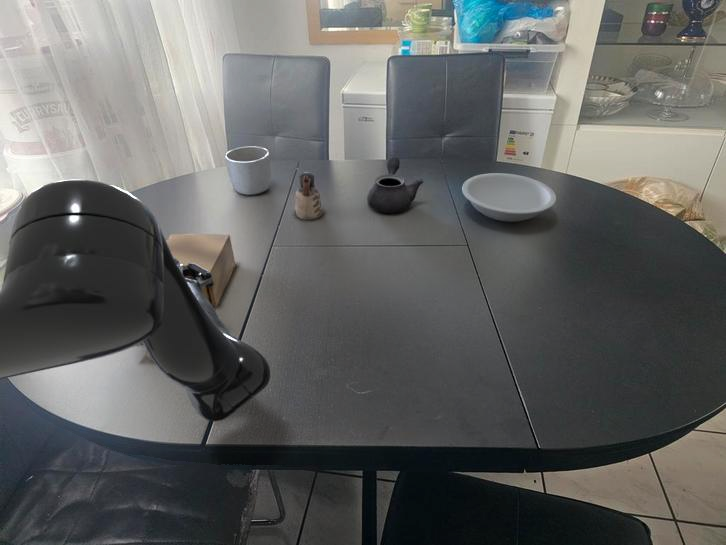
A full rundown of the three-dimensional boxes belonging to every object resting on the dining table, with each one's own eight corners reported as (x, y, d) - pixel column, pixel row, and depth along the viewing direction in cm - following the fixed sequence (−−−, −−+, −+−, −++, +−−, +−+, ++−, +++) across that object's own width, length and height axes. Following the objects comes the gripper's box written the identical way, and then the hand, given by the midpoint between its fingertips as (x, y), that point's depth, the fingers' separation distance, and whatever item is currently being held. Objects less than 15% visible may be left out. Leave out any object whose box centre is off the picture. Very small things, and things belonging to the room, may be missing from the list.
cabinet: (216, 306, 90) (208, 274, 85) (155, 305, 90) (143, 273, 85) (235, 265, 101) (229, 234, 97) (181, 264, 102) (172, 233, 97)
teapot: (425, 215, 121) (428, 180, 115) (368, 216, 120) (368, 182, 114) (414, 185, 136) (417, 153, 130) (364, 186, 135) (364, 154, 129)
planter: (237, 201, 127) (230, 165, 121) (226, 185, 136) (220, 150, 129) (279, 193, 132) (274, 157, 125) (266, 177, 141) (261, 143, 134)
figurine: (324, 208, 124) (322, 167, 117) (319, 221, 118) (317, 178, 111) (299, 207, 124) (295, 166, 117) (293, 219, 119) (289, 177, 112)
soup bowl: (467, 188, 134) (470, 168, 130) (551, 201, 127) (557, 180, 123) (451, 226, 116) (454, 203, 112) (548, 243, 109) (555, 219, 105)
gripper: (227, 280, 71) (191, 236, 82) (132, 315, 64) (107, 262, 75) (235, 316, 75) (200, 269, 86) (147, 352, 68) (121, 296, 80)
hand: (157, 266), depth 81 cm, fingers closed on sprinkles bottle, 4 cm apart
